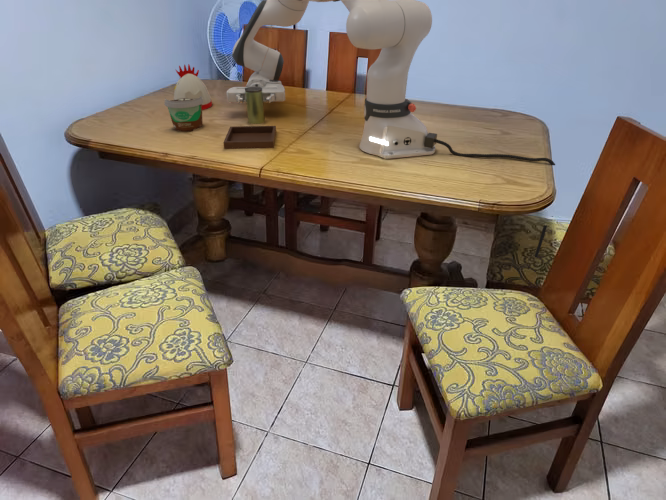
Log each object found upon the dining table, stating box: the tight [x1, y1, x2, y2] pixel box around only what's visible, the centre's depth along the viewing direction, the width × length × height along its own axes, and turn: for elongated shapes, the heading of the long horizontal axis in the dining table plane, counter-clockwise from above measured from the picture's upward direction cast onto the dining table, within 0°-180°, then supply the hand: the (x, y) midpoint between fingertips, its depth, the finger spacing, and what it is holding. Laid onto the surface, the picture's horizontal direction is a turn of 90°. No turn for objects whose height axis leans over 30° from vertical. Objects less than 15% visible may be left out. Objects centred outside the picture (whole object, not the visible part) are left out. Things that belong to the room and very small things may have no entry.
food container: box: [164, 96, 204, 133], centre depth 150 cm, size 12×6×10 cm, turn 105°
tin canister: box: [245, 87, 266, 125], centre depth 156 cm, size 6×6×11 cm
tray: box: [223, 125, 277, 150], centre depth 143 cm, size 15×15×2 cm
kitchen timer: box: [173, 63, 213, 111], centre depth 172 cm, size 14×14×15 cm
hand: (254, 100), depth 155 cm, fingers open, 8 cm apart
